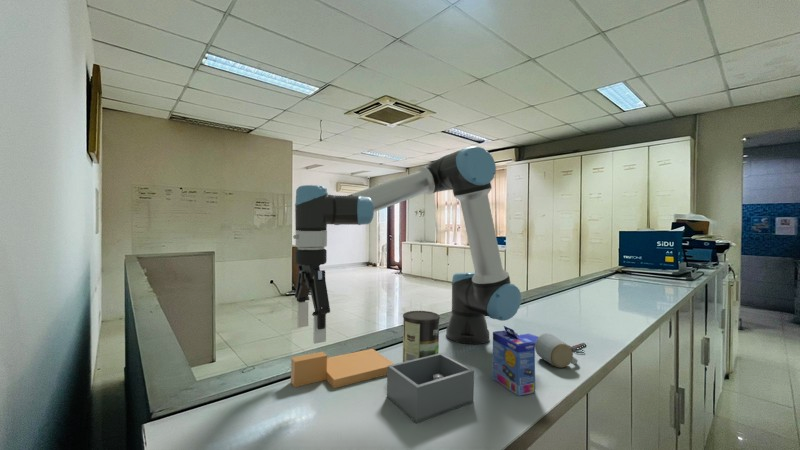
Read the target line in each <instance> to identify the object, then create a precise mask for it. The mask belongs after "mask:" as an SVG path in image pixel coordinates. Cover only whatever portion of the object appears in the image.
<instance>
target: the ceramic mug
mask: <svg viewBox="0 0 800 450" xmlns="http://www.w3.org/2000/svg"><path fill="white" fill-rule="evenodd" d="M569 346H570V345H569ZM569 346H568V344H567V343H566V342H565V341H563V340H561V339H559V338H558V337H557V336H555V335H554V334H552V333H549V332H548V333H547V332H546V333H543V334H541V335H539V336H538V339H537V340H536V343H535V354H537V355H538V356H539V357H540V358H541V359H543V360H544V361H546V362H548V363H549V364H550V365H551V366H553V367H556V368H557V369H558V368H560V369H562V368H566V367H568V366H569V365H570V364H573V365H574V366H575V365H577V363H578V360H579V359H578V358H576V357H575V356H574V353H573V351H572V350H571V348H570V347H569Z"/></svg>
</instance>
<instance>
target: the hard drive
mask: <svg viewBox="0 0 800 450" xmlns="http://www.w3.org/2000/svg"><path fill="white" fill-rule="evenodd" d="M520 336H522V337H525V338H527V339H529V340H532V341H534V343H536V340H537V339H538V337H539V336H537V335H534V334H532V333H524V334H520Z"/></svg>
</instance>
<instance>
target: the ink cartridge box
mask: <svg viewBox="0 0 800 450" xmlns="http://www.w3.org/2000/svg"><path fill="white" fill-rule="evenodd" d="M503 328H504V330H497V331H493V332H492V379H493V380H495V381H496V382H498V383H499V384H501V385H502V386H503V387H504V388H506V389H507V390H509V391H510V392H511V393H512V394H514V395H515V396H518V397H519V396H524V395H525V396H526V395H529V394H534V393H536V350H535V343H534V341H532V340H529V339H527V338H525V337H522V336H520V335H521V334H520V335H519V334H518V332H515V330H514V329H513V328H510V327H507V326H505V325H503Z"/></svg>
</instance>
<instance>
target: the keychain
mask: <svg viewBox="0 0 800 450" xmlns="http://www.w3.org/2000/svg"><path fill="white" fill-rule="evenodd" d="M567 345H568V344H567ZM584 345H586V346H587V343H585V342H582V343H578V344H575V345H572V346H571V345H568V346H569V347H570V348H571V350H572V352H574V353H575V352H576V354H578V353H584V352H585V353H586V351H585V350H584V349H582V348H580V347H582V346H584ZM577 348H580V349H577ZM579 350H582V351H584V352H582V351H579ZM585 353H584V354H585Z"/></svg>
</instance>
